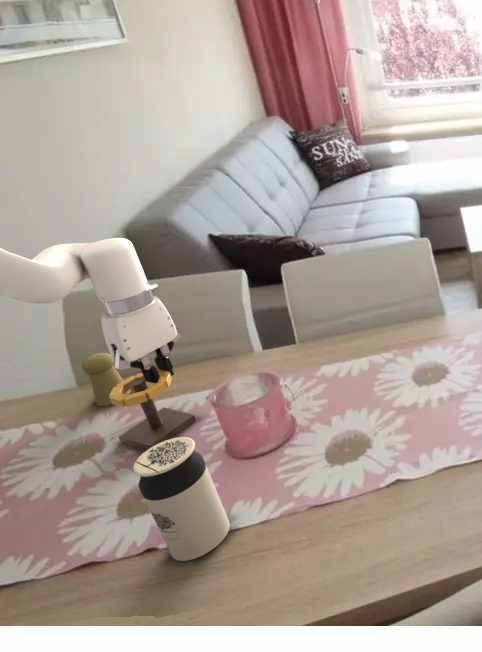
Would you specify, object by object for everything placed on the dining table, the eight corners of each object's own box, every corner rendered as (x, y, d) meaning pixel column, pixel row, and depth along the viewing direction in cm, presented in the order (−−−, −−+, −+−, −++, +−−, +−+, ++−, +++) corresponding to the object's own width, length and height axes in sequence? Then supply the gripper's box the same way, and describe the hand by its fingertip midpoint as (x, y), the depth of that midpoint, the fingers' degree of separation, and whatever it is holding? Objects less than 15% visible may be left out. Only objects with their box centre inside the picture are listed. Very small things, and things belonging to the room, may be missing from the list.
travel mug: (215, 510, 92) (181, 428, 85) (240, 530, 88) (206, 446, 82) (162, 547, 86) (120, 462, 79) (186, 571, 82) (144, 484, 75)
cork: (98, 410, 118) (78, 368, 114) (94, 398, 122) (75, 358, 118) (132, 396, 122) (114, 355, 118) (128, 385, 126) (110, 345, 122)
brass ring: (134, 410, 102) (131, 403, 101) (101, 401, 104) (98, 394, 104) (182, 380, 110) (179, 373, 109) (150, 372, 113) (148, 366, 112)
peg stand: (152, 451, 106) (129, 400, 101) (121, 442, 108) (97, 392, 104) (196, 420, 113) (176, 372, 109) (166, 412, 116) (145, 365, 111)
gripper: (156, 280, 111) (185, 353, 118) (67, 319, 98) (106, 400, 104) (182, 284, 109) (210, 358, 116) (95, 324, 95) (133, 407, 102)
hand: (161, 377), depth 110 cm, fingers closed on brass ring, 1 cm apart
